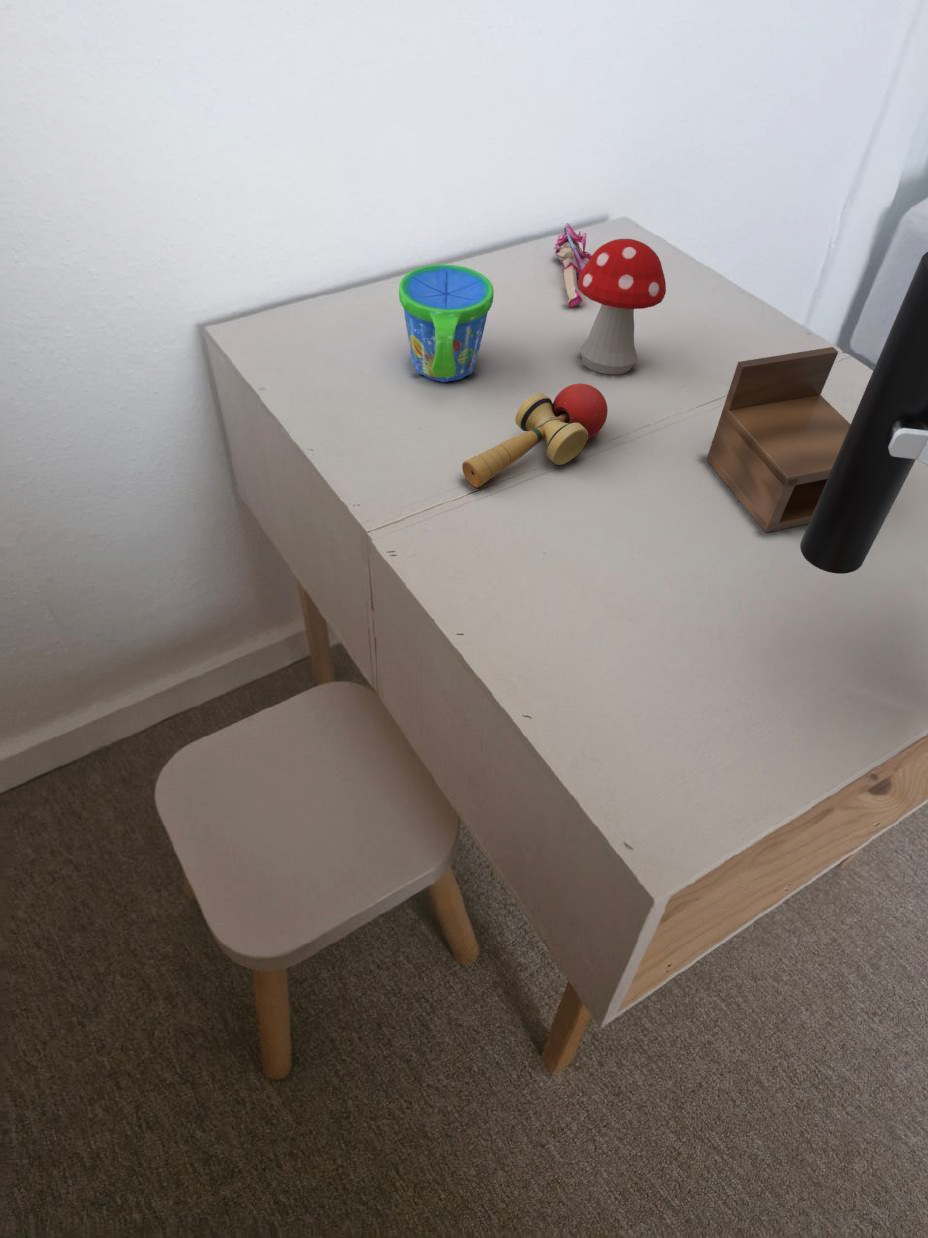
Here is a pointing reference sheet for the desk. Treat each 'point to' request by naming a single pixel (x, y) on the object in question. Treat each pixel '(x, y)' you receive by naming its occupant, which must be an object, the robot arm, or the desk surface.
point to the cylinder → (874, 443)
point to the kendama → (545, 430)
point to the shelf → (779, 436)
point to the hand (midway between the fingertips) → (883, 409)
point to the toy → (572, 261)
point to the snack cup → (445, 318)
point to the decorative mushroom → (619, 301)
